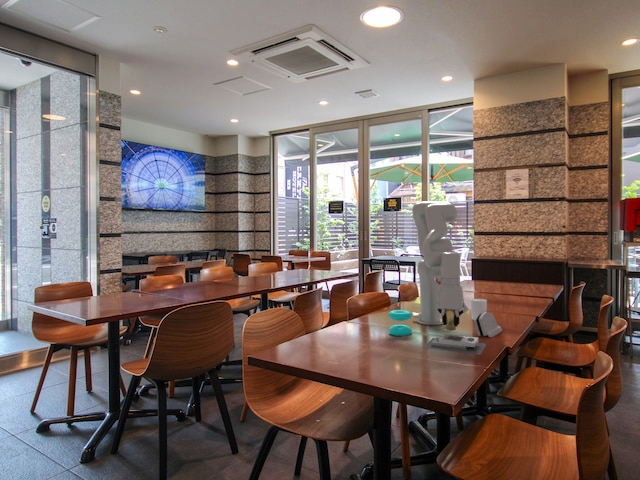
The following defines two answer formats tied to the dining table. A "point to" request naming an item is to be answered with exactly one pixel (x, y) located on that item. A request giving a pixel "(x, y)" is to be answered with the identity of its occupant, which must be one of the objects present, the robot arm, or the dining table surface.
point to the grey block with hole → (455, 342)
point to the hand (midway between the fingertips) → (450, 324)
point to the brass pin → (450, 319)
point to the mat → (475, 350)
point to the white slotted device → (486, 325)
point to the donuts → (400, 316)
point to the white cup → (478, 307)
